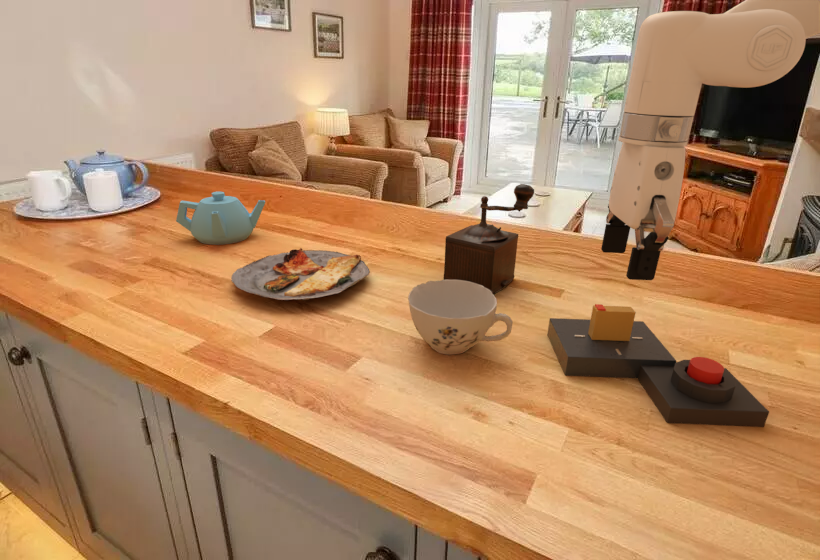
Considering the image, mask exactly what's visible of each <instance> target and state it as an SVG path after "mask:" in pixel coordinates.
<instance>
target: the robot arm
mask: <svg viewBox="0 0 820 560" xmlns="http://www.w3.org/2000/svg"><path fill="white" fill-rule="evenodd" d="M819 34H820V0H744V1H742V2H740V3H739V4H737V5H735V6H733V7H732V8H730V9H728V10H727V11H725V12H723V13H713V14H712V13H711V14H710V13H707V12H704V11H695V10H674V11H672V10H670V11H661V12H656V13H653V14H650V15H649V16H647V17H646V18H645V19H644V20H643V21H642V23H641V24H640V27H639V32H638V35H637V41H636V46H635V51H634V56H633V62H632V67H631V71H630V78H629V82H628V88H627V93H626V98H625V102H624V103H625V105H624V109H623V113H622V120H621V124H620V130H619V135H618V142H620V143H622V144H621V147H620V150H619V154H618V157H617V161H616V166H615V169H614V173H613V178H612V182H611V188H610V190H609V191H610V192H609V199H608V204H607V208H608V214H606V218H605V222H606V224H605V228H604V232H603V238H602V243H601V248H600V249H601V251H602V252H603V253H607V254H625V252H626V251H627V245H628V241H629V237H630V236H629V235H630V231H631V229H632V230H634V236H635V237H634V238H635V246H631V247H632V248H631V252H630V256H629V261H628V266H627V270H626V275H625V276H626V278H627V279H628V280H634V281H652V280H654V279H655V277H656V273H657V268H658V264H659V261H660V256H661V253H662V251H664V248H665V244H666V243H667V242H668V240H669V236H670V233H671V232H672V230H673V228H674V226H675V221H676V217H677V212H678V208H679V203H680V198H681V193H682V187H683V181H684V173H685V166H686V165H685V164H686V150H687V149H686V147H687V146H688V143H689V138H690V133H691V129H692V126H693V122H694V118H695V113H696V109H697V105H698V102H699V98H700V95H701V94H700V93H701V90H702V85H707V86H714V87H729V88H742V89H743V88H746V89H747V88H756V87H763V86H765V85H768V84H771V83H774V82H776V81H777V80H779V79H781V78H783V77H785V75H788V73H789V72H790V71H792V70H793V69H794V68H795V66H796V65H797V64H798V62H799V61H800V59H801V57H802V56H803V53H804V51H805V48H806V40H807V39H809V38H811V37H813V36H816V35H819ZM646 232H647V233H648V234H647V236H645V233H646Z"/></svg>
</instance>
